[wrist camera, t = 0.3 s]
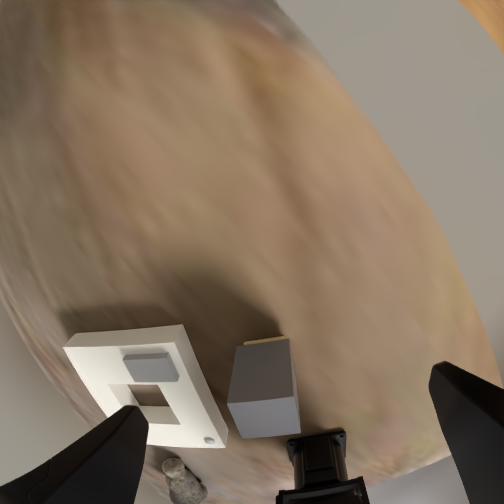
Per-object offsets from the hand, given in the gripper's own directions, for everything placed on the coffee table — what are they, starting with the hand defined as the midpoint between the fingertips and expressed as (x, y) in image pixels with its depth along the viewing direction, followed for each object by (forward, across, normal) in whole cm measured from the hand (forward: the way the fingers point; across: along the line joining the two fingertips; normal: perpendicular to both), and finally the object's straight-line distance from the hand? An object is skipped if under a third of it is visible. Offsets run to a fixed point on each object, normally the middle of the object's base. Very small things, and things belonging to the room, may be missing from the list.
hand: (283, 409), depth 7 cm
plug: (+14, +2, +8) cm, 16 cm away
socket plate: (+14, +14, +11) cm, 22 cm away
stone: (+14, +18, +30) cm, 38 cm away
